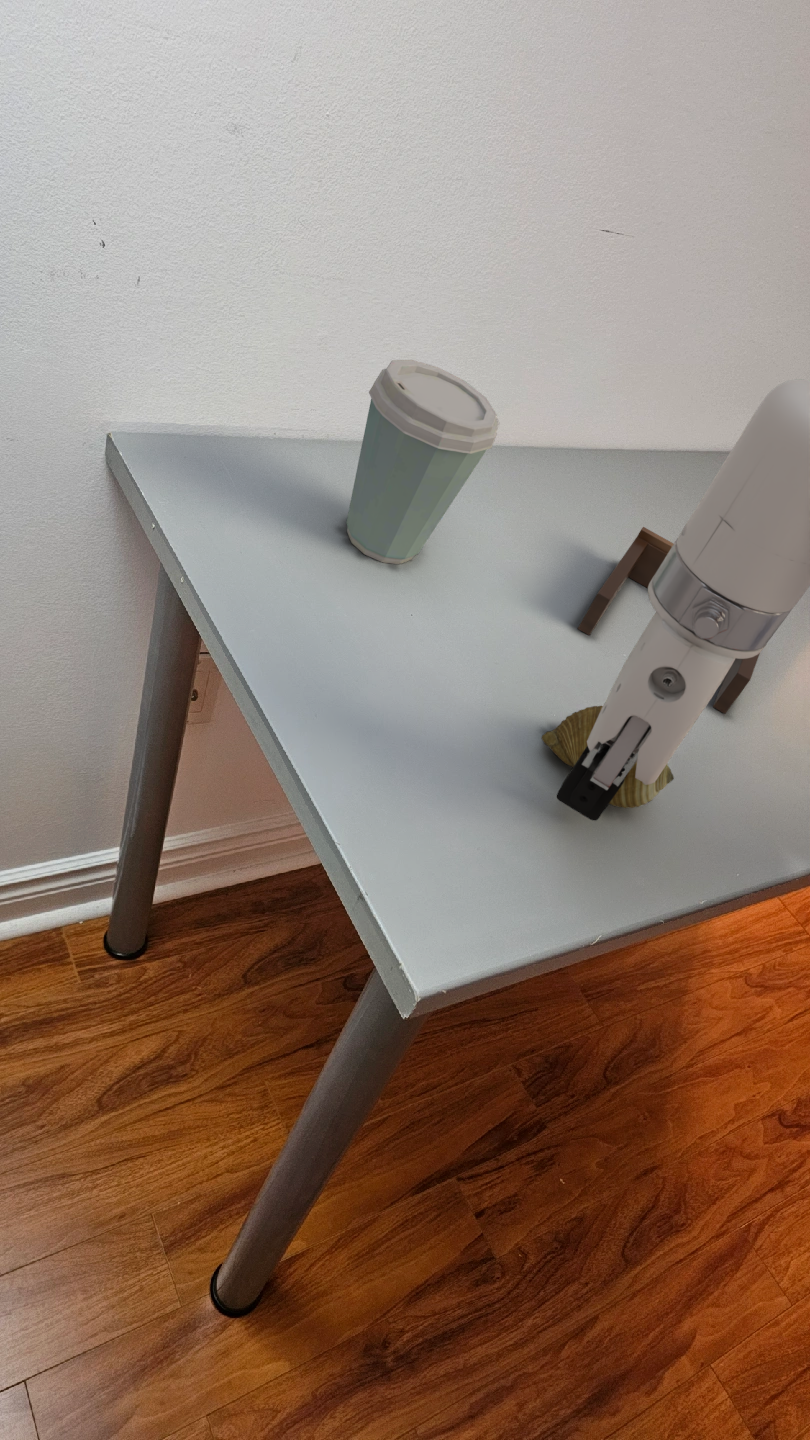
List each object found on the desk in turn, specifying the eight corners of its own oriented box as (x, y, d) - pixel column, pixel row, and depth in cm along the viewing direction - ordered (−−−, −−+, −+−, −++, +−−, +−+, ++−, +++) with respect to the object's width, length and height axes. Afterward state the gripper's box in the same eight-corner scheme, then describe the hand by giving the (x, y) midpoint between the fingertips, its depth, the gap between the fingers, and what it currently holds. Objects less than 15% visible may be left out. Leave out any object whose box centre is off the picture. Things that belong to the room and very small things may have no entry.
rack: (753, 641, 100) (781, 602, 97) (725, 714, 89) (755, 672, 86) (620, 566, 102) (643, 525, 99) (577, 628, 91) (602, 585, 88)
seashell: (526, 787, 80) (526, 762, 73) (559, 703, 82) (562, 671, 74) (650, 833, 78) (663, 813, 71) (681, 747, 80) (697, 718, 72)
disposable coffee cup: (401, 504, 96) (460, 353, 87) (464, 578, 91) (534, 426, 82) (301, 509, 90) (354, 347, 81) (363, 589, 85) (427, 425, 75)
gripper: (756, 691, 55) (596, 901, 66) (793, 578, 66) (651, 774, 78) (629, 618, 55) (493, 838, 67) (687, 518, 67) (563, 721, 78)
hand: (578, 803), depth 72 cm, fingers closed
